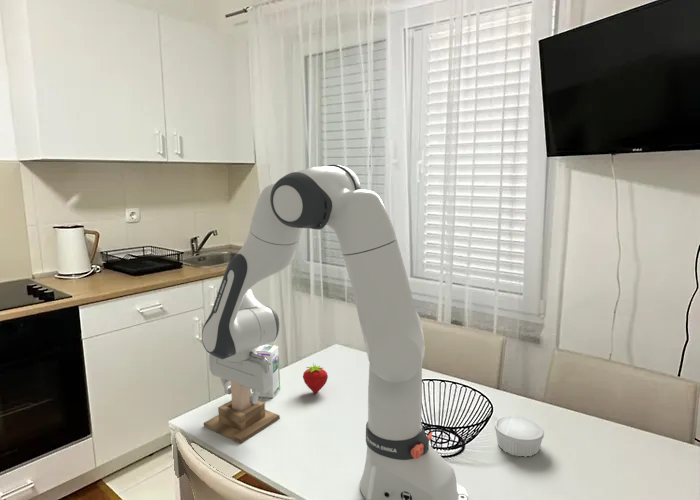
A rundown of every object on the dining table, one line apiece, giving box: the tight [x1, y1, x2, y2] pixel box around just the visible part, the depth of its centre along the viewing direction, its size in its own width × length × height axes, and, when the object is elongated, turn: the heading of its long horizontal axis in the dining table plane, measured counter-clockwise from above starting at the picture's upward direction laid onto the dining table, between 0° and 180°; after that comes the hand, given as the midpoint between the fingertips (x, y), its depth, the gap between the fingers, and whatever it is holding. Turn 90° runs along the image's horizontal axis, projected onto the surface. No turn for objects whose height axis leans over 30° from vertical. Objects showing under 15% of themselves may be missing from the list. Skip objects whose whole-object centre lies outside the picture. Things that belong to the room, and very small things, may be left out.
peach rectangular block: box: [230, 380, 252, 412], centre depth 125 cm, size 4×4×12 cm
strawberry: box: [302, 362, 329, 394], centre depth 141 cm, size 6×8×10 cm
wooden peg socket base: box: [203, 399, 281, 444], centre depth 126 cm, size 14×14×5 cm
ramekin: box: [494, 415, 545, 458], centre depth 115 cm, size 11×11×5 cm
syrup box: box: [256, 343, 281, 399], centre depth 141 cm, size 6×6×14 cm
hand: (241, 397), depth 125 cm, fingers open, 8 cm apart
